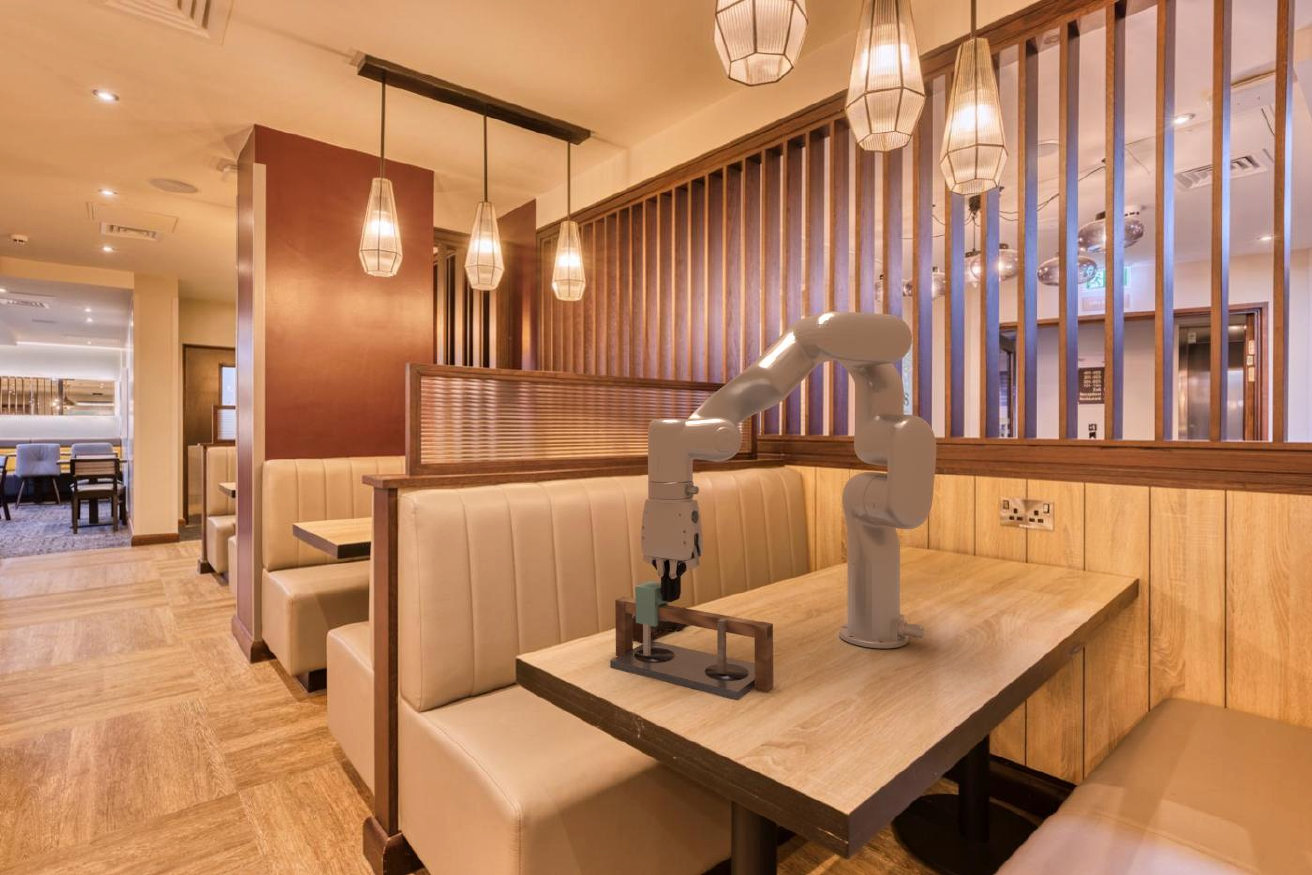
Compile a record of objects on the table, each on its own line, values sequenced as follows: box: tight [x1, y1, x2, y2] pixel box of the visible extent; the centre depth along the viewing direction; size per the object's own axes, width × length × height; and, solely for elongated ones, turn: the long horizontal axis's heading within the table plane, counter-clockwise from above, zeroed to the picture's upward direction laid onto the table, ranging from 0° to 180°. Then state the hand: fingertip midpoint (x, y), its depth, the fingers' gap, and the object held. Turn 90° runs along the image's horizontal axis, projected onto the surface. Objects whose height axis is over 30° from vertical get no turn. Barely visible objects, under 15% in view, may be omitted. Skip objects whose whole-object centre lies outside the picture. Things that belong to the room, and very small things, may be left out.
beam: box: [614, 596, 774, 693], centre depth 108 cm, size 29×3×10 cm, turn 56°
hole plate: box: [609, 640, 755, 701], centre depth 109 cm, size 24×12×1 cm, turn 56°
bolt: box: [633, 607, 685, 644], centre depth 129 cm, size 6×5×15 cm
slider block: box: [634, 580, 670, 656], centre depth 113 cm, size 4×4×12 cm
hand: (670, 599), depth 110 cm, fingers closed
